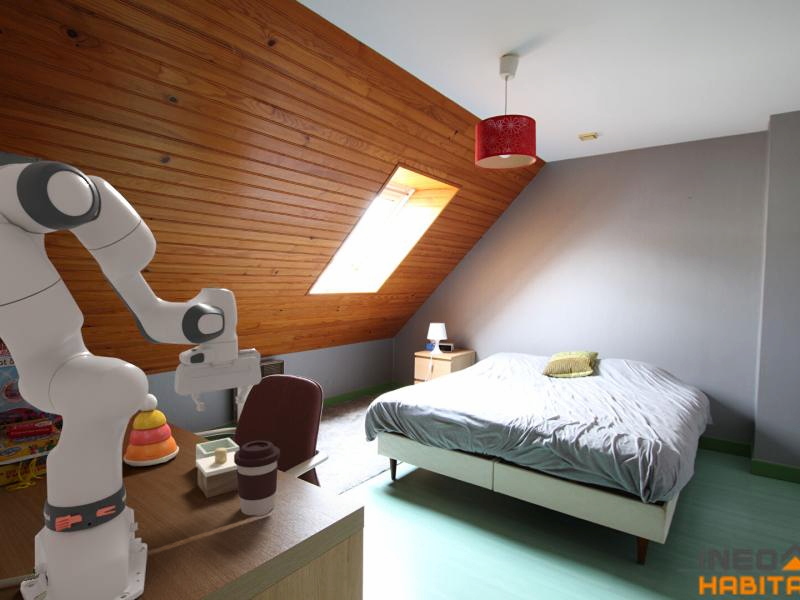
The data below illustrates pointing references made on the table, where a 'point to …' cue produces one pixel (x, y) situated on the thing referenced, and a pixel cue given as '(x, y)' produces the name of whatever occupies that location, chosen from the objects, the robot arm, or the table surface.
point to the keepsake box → (217, 483)
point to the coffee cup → (257, 477)
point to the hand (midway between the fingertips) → (220, 407)
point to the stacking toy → (150, 437)
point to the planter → (209, 448)
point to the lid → (217, 463)
